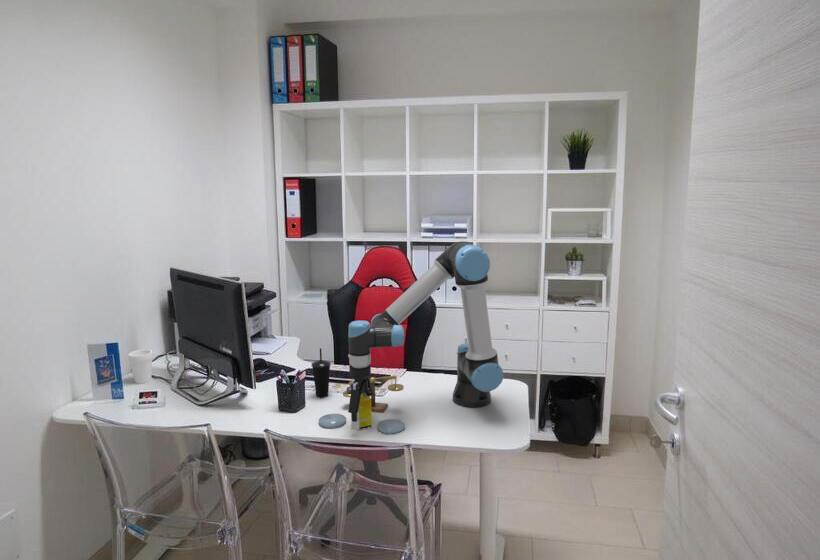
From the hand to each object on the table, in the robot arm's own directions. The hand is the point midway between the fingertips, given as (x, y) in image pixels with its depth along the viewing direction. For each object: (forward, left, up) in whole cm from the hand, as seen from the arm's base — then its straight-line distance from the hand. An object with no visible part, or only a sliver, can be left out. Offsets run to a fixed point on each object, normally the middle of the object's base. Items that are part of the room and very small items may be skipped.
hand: (361, 420), depth 208 cm
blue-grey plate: (-11, 0, -2) cm, 11 cm away
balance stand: (0, -15, -2) cm, 15 cm away
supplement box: (0, 0, -2) cm, 2 cm away
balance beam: (0, -15, +3) cm, 15 cm away
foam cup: (+106, -22, -2) cm, 109 cm away
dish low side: (+11, 0, -2) cm, 11 cm away
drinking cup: (+24, -23, -2) cm, 33 cm away
